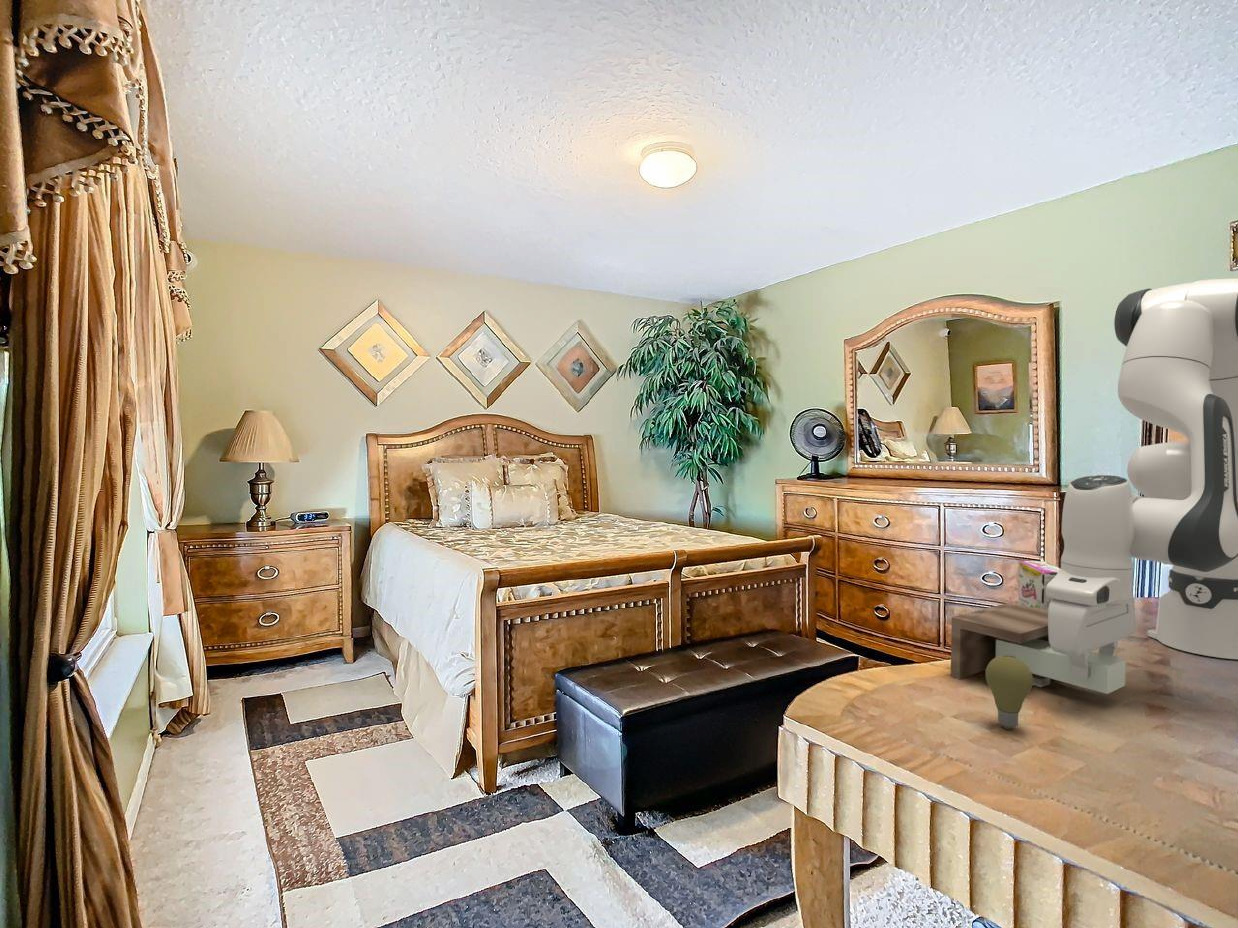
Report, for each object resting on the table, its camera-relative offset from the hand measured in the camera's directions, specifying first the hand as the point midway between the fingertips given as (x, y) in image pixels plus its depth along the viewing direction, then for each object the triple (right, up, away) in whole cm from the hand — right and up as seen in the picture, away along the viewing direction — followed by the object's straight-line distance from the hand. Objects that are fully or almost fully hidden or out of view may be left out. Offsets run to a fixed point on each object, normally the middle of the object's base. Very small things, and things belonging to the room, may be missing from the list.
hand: (1093, 672), depth 100 cm
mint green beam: (-3, -2, +4) cm, 5 cm away
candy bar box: (+6, -3, +21) cm, 22 cm away
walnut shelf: (-6, -4, +10) cm, 12 cm away
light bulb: (-19, -5, -10) cm, 22 cm away
